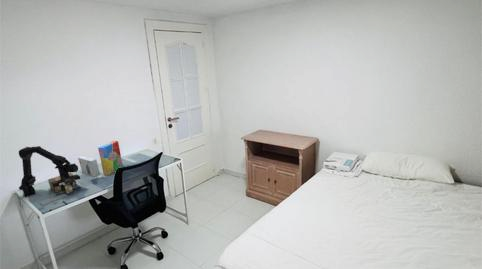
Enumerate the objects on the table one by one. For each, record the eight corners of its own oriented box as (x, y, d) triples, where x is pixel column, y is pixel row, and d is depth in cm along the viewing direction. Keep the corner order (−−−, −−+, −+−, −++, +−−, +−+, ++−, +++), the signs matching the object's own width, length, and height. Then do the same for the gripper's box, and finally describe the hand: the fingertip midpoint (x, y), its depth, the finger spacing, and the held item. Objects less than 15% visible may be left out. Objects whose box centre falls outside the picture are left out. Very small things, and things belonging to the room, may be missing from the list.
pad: (42, 205, 181) (42, 205, 181) (39, 202, 185) (39, 202, 185) (67, 196, 193) (67, 195, 193) (64, 193, 197) (64, 193, 197)
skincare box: (81, 172, 235) (77, 157, 230) (86, 170, 239) (83, 155, 235) (94, 176, 225) (91, 160, 221) (100, 174, 230) (96, 158, 225)
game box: (108, 175, 227) (102, 147, 219) (103, 175, 228) (97, 147, 220) (123, 166, 246) (118, 140, 238) (118, 166, 247) (113, 140, 239)
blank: (67, 193, 197) (65, 186, 195) (61, 188, 206) (59, 182, 204) (72, 191, 200) (71, 184, 198) (67, 186, 209) (65, 180, 207)
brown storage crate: (54, 192, 199) (51, 182, 196) (50, 189, 204) (47, 179, 202) (76, 185, 211) (73, 175, 208) (72, 182, 216) (70, 172, 213)
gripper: (52, 179, 184) (58, 198, 188) (80, 170, 198) (84, 188, 202) (48, 175, 191) (53, 193, 195) (75, 167, 204) (79, 184, 209)
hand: (68, 190), depth 200 cm, fingers closed on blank, 4 cm apart
